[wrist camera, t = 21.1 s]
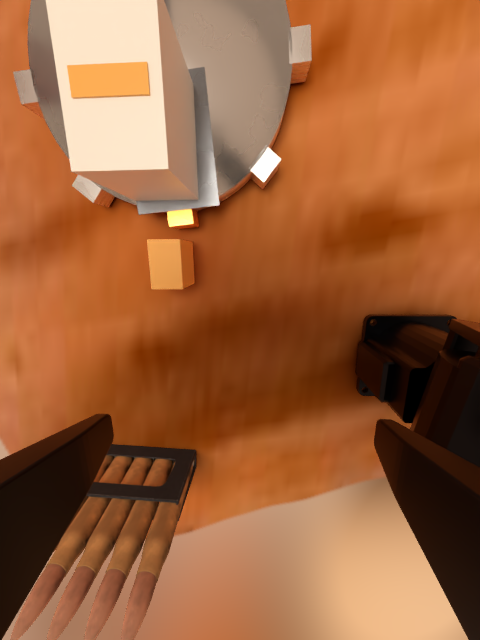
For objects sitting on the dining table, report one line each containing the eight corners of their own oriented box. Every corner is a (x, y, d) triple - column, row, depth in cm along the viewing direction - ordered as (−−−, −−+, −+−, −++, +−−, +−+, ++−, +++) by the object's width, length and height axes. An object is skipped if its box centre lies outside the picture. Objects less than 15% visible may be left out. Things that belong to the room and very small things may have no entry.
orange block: (192, 241, 19) (179, 239, 16) (194, 283, 20) (182, 289, 16) (165, 242, 19) (146, 239, 16) (168, 283, 20) (151, 289, 16)
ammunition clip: (82, 459, 24) (-74, 647, 13) (80, 441, 24) (-84, 620, 12) (196, 466, 24) (143, 668, 12) (196, 449, 23) (141, 642, 12)
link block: (193, 84, 15) (154, -29, 9) (198, 199, 16) (167, 168, 10) (124, 87, 15) (40, -22, 9) (135, 200, 16) (69, 170, 10)
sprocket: (298, -126, 14) (318, -290, 10) (309, 214, 18) (326, 202, 14) (-1, -67, 15) (-97, -190, 11) (73, 240, 19) (23, 236, 15)
